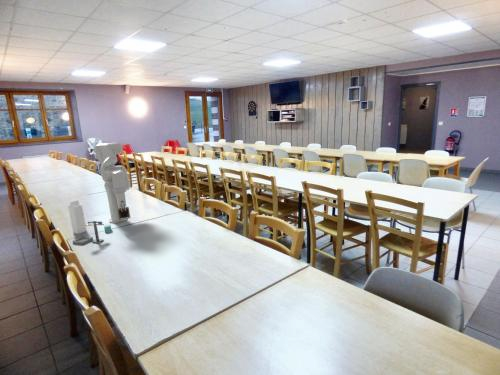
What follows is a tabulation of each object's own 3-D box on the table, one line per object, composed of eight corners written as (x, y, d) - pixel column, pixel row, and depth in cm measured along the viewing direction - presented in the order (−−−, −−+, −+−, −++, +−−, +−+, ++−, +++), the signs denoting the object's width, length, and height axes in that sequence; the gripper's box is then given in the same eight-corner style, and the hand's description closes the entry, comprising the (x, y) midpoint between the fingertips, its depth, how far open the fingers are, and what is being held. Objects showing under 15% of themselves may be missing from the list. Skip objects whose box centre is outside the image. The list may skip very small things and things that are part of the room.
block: (105, 231, 211) (104, 225, 210) (111, 229, 212) (110, 224, 211) (105, 232, 207) (104, 227, 206) (111, 231, 209) (110, 226, 208)
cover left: (118, 218, 207) (117, 208, 207) (129, 216, 210) (128, 206, 210) (119, 219, 201) (117, 209, 201) (130, 217, 204) (128, 207, 204)
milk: (73, 232, 210) (66, 202, 205) (81, 229, 216) (75, 199, 211) (79, 233, 208) (72, 202, 203) (87, 230, 213) (81, 200, 208)
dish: (83, 238, 198) (83, 236, 198) (93, 239, 195) (92, 237, 195) (73, 243, 191) (72, 241, 190) (82, 244, 188) (82, 242, 188)
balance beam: (82, 225, 183) (82, 221, 183) (100, 224, 195) (100, 220, 196) (88, 225, 181) (88, 221, 182) (105, 225, 194) (105, 221, 194)
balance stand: (92, 242, 190) (89, 224, 188) (97, 240, 194) (94, 222, 191) (98, 243, 189) (95, 225, 186) (103, 240, 192) (100, 223, 190)
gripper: (113, 188, 209) (117, 213, 213) (114, 193, 194) (119, 220, 198) (125, 186, 212) (128, 211, 216) (127, 191, 197) (131, 217, 201)
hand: (124, 215), depth 207 cm, fingers closed on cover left, 6 cm apart
